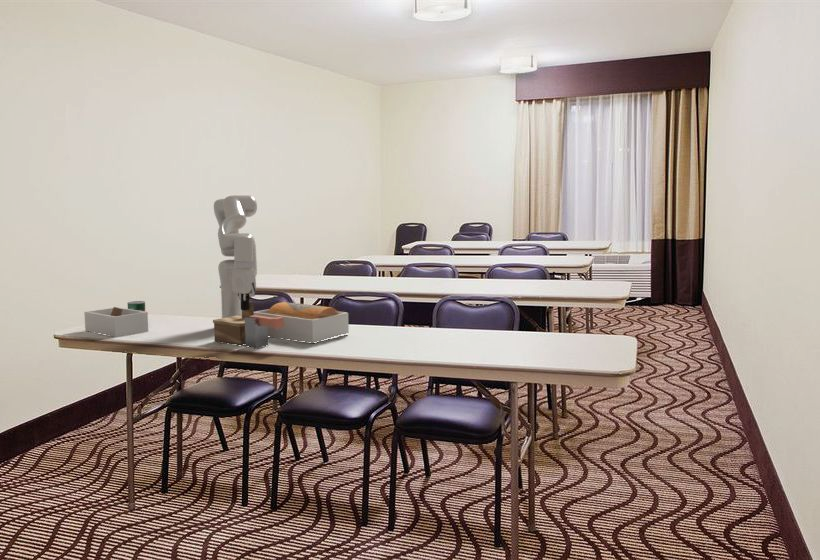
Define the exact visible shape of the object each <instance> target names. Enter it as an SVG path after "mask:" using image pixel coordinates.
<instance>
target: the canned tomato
mask: <svg viewBox="0 0 820 560" xmlns="http://www.w3.org/2000/svg"><path fill="white" fill-rule="evenodd" d="M127 309H131V310H138V311H144V312H146V301H144V300H143V301H142V300H134V301H128V302H127Z"/></svg>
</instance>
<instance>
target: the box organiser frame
mask: <svg viewBox="0 0 820 560" xmlns="http://www.w3.org/2000/svg"><path fill="white" fill-rule="evenodd" d="M269 309H270V308H269ZM269 309H263V310H257V311H254V315H258V316H266V317H273V318H277V317H284V327H283V328H279V329H273V327H271V326H268V336H270V337H269V338H272V337H276V338H275V339H278V338H283V339H282V340H284V339H290V340H289V341H291V340H297V341H305V342H311V343H314V342H317V341H321V340H324V339H327V338H331V337H334V336H338V335H341V334H346V333H349V331H350V330H349V312H345V311H338V312H339V313H340V314H337V315H332V316H328V317H323V318H318V319H314V320H310V319H303V318H296V317H288V316H281V315H274V314H268V311H269ZM349 334H350V333H349ZM297 341H296V342H297Z"/></svg>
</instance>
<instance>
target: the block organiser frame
mask: <svg viewBox="0 0 820 560" xmlns="http://www.w3.org/2000/svg"><path fill="white" fill-rule="evenodd" d="M116 307H117V306H116ZM113 308H114V307H110V308H102V309H95V310H89V311H84V313H83V315H84V328H85V329H84V330H85V332H86V331H89V332H88V333H91V332H95V333H94V334H96V333H101V334H106V335H110V336H109V337H111V336H114V337H113V338H119V337H118V336H121V337H125V336H124V335H127V336H132V335H138V334H143V333H148V332H149V317H148V315H149V314H148V311H145V312H144V311H138V310H131V309H128V308H126V307H125V308H124V307H119V306H118V307H117V308H120V309H123V311H122V314H121V316H111V313H112V310H113ZM101 334H100V335H101ZM131 334H132V335H131ZM106 335H105V336H106Z"/></svg>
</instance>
